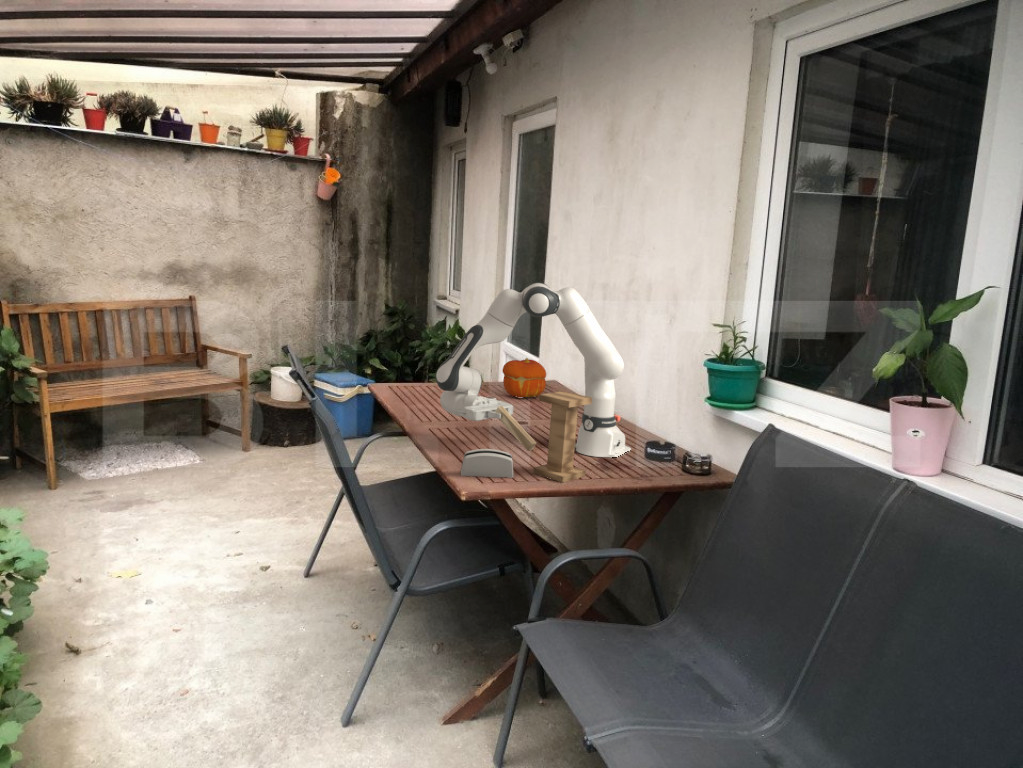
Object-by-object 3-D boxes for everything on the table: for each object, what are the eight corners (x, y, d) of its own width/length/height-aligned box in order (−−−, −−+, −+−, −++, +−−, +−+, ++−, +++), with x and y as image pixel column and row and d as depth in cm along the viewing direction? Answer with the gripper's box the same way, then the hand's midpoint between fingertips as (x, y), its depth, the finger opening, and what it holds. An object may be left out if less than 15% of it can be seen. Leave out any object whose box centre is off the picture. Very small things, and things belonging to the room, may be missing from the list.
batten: (498, 413, 252) (502, 406, 251) (532, 450, 243) (536, 443, 242) (493, 413, 251) (497, 406, 249) (527, 451, 241) (532, 444, 240)
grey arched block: (512, 473, 233) (515, 447, 228) (513, 482, 229) (515, 456, 224) (460, 470, 232) (462, 445, 227) (460, 479, 228) (461, 453, 223)
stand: (556, 467, 243) (562, 391, 239) (585, 476, 235) (592, 397, 231) (533, 473, 234) (539, 394, 230) (562, 482, 227) (569, 401, 222)
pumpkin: (521, 403, 350) (524, 362, 346) (491, 394, 366) (494, 355, 363) (555, 399, 365) (558, 360, 362) (524, 391, 381) (527, 353, 378)
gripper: (455, 402, 250) (484, 409, 241) (496, 397, 265) (524, 403, 256) (454, 420, 251) (483, 428, 242) (495, 413, 266) (523, 421, 257)
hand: (505, 415), depth 249 cm, fingers closed on batten, 2 cm apart
